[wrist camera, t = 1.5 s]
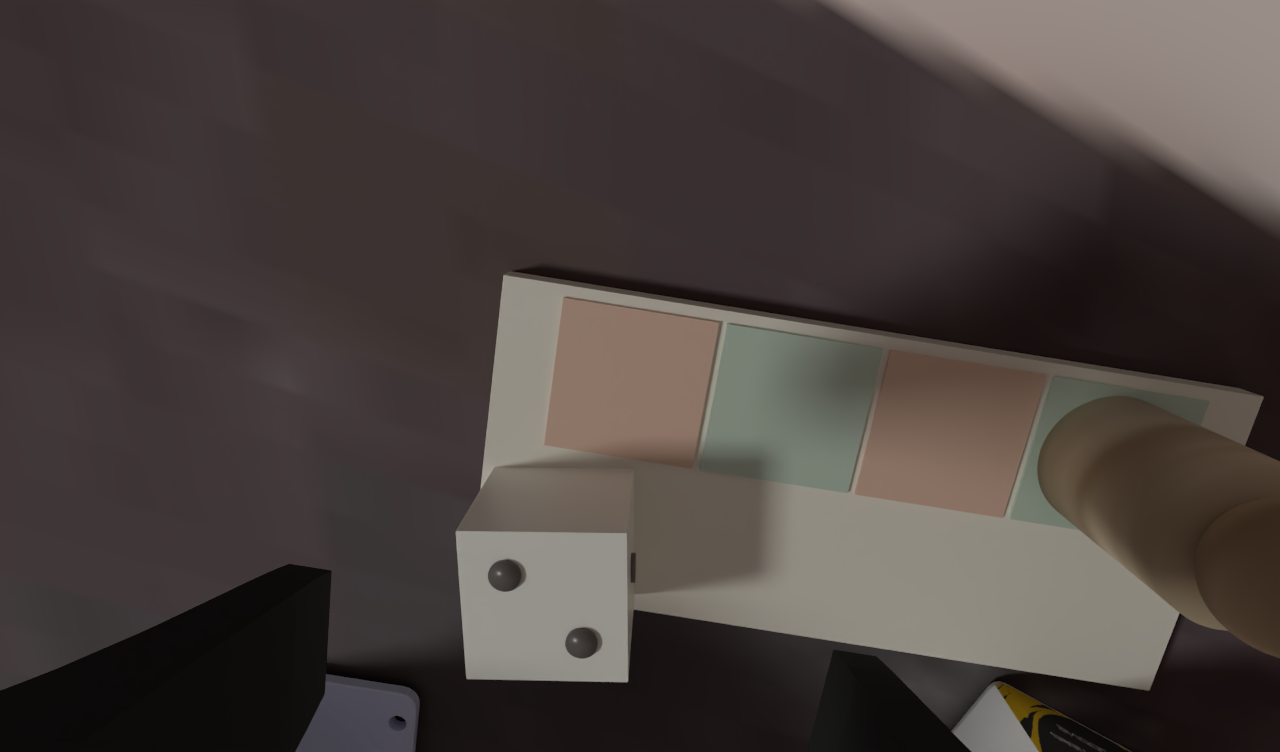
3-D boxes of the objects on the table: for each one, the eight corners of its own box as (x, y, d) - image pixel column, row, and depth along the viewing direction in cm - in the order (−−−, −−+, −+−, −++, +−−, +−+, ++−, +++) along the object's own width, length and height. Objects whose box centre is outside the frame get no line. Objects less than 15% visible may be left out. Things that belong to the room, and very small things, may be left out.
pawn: (1152, 534, 19) (1430, 732, 12) (1020, 513, 19) (1222, 700, 12) (1198, 407, 18) (1527, 544, 11) (1060, 385, 18) (1303, 507, 11)
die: (638, 594, 20) (632, 685, 16) (501, 592, 20) (465, 682, 16) (638, 468, 19) (631, 535, 15) (494, 467, 19) (454, 533, 15)
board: (1131, 672, 21) (1151, 693, 20) (477, 568, 21) (469, 585, 20) (1239, 387, 19) (1267, 398, 18) (510, 271, 18) (502, 275, 18)
